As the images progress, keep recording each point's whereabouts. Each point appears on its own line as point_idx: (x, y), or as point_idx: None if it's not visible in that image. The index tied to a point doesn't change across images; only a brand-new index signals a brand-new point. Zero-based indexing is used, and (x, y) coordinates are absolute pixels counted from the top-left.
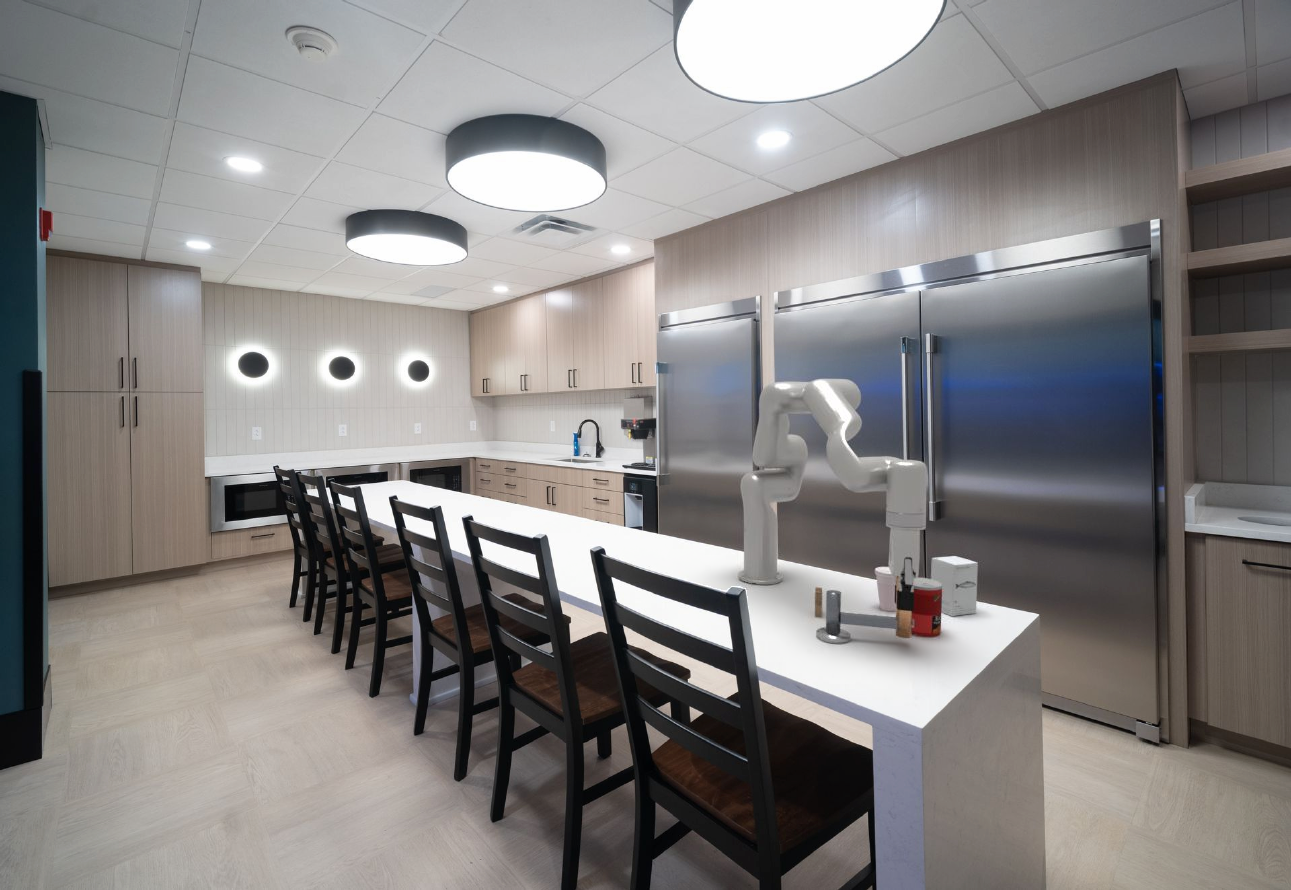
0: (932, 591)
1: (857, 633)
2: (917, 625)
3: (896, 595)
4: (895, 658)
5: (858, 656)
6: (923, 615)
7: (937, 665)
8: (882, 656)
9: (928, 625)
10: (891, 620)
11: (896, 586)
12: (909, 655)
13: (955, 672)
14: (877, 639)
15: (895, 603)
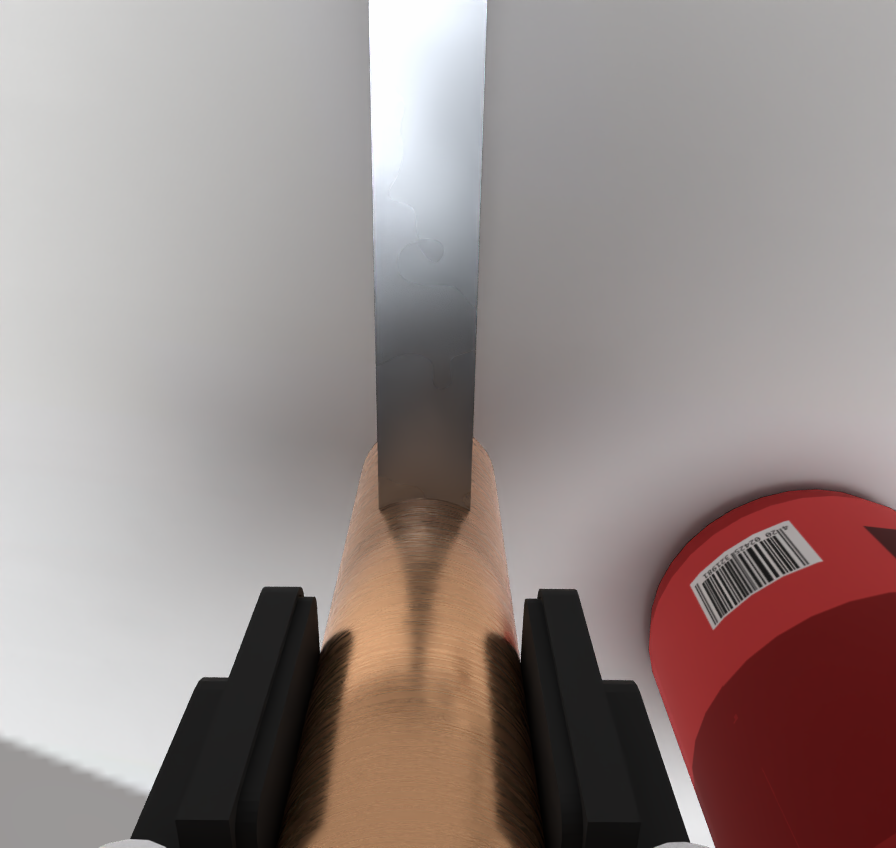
0: None
1: (633, 54)
2: (681, 623)
3: (409, 704)
4: (111, 355)
5: (5, 22)
6: (696, 736)
7: (110, 612)
8: (108, 253)
9: (666, 702)
10: (379, 442)
11: (569, 826)
12: (221, 464)
13: (42, 689)
14: (508, 247)
15: (539, 590)
